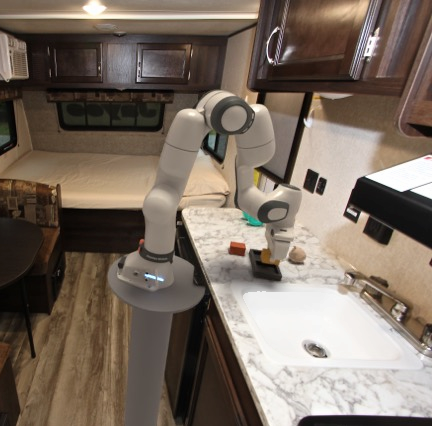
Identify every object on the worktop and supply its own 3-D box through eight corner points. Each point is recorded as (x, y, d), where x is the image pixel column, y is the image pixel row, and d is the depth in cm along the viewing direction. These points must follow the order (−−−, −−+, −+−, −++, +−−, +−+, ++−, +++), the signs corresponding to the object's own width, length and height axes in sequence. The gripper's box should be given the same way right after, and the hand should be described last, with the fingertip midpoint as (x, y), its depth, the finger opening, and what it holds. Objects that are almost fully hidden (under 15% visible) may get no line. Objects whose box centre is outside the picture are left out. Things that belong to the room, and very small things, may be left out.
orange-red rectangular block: (229, 253, 130) (231, 246, 128) (229, 248, 134) (230, 241, 132) (244, 256, 128) (246, 248, 127) (243, 251, 132) (245, 243, 131)
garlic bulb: (285, 255, 129) (290, 239, 126) (302, 258, 128) (307, 242, 124) (288, 263, 124) (293, 247, 120) (305, 266, 122) (311, 250, 119)
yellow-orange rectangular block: (262, 262, 114) (264, 253, 112) (260, 256, 118) (262, 248, 116) (278, 265, 113) (281, 256, 111) (276, 259, 116) (279, 250, 115)
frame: (254, 276, 115) (255, 271, 114) (248, 253, 131) (250, 248, 129) (280, 281, 112) (282, 276, 111) (272, 257, 128) (273, 252, 127)
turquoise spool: (258, 218, 164) (262, 202, 160) (265, 226, 155) (270, 209, 151) (240, 218, 164) (243, 201, 160) (246, 226, 155) (251, 209, 151)
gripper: (265, 214, 119) (257, 243, 124) (275, 237, 101) (265, 270, 107) (282, 216, 117) (274, 245, 123) (295, 240, 99) (284, 273, 105)
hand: (270, 257), depth 115 cm, fingers closed on yellow-orange rectangular block, 4 cm apart
